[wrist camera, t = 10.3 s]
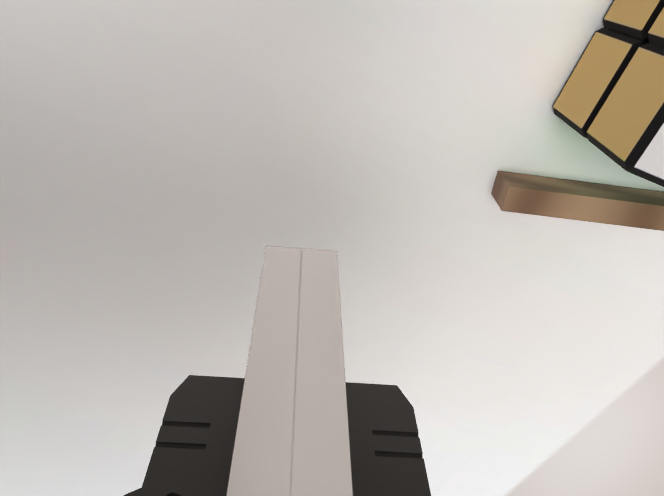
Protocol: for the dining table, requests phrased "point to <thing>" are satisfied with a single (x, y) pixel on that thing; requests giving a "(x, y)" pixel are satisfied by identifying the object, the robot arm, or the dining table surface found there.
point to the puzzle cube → (622, 89)
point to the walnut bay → (579, 200)
